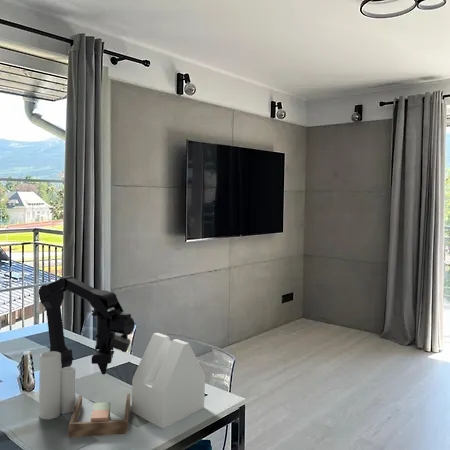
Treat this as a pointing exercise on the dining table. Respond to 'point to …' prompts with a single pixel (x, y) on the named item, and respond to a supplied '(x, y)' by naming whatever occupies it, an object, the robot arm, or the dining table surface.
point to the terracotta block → (100, 415)
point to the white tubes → (55, 386)
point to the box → (97, 423)
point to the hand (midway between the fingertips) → (103, 374)
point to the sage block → (102, 407)
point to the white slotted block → (167, 382)
